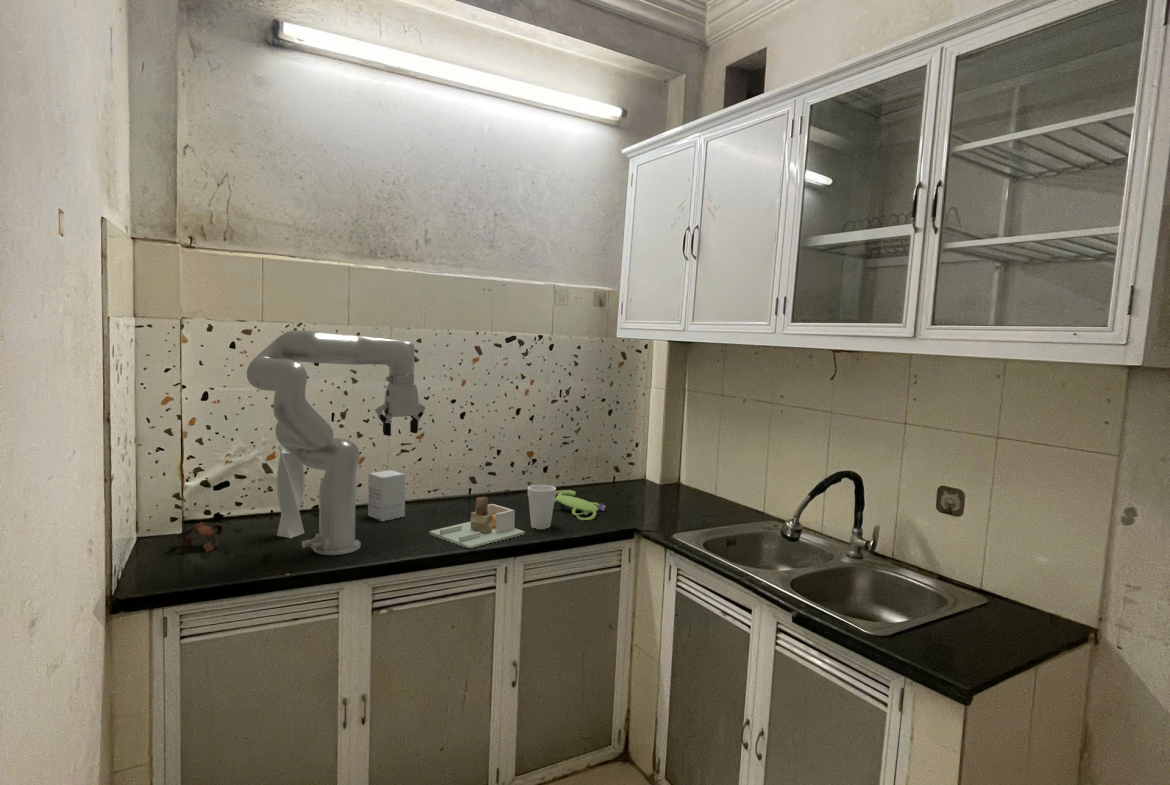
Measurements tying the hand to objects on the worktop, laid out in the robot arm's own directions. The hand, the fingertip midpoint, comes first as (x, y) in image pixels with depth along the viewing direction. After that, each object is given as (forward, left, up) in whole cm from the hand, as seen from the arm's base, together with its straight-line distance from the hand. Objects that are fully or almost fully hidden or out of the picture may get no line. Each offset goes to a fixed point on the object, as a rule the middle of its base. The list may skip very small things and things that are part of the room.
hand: (400, 434), depth 200 cm
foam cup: (+35, -29, -31) cm, 55 cm away
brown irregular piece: (-50, +20, -31) cm, 62 cm away
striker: (+15, -22, -29) cm, 40 cm away
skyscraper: (-28, +15, -31) cm, 44 cm away
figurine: (+59, -21, -31) cm, 70 cm away
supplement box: (+4, +14, -31) cm, 34 cm away
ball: (+21, -22, -27) cm, 41 cm away
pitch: (+14, -22, -30) cm, 40 cm away
